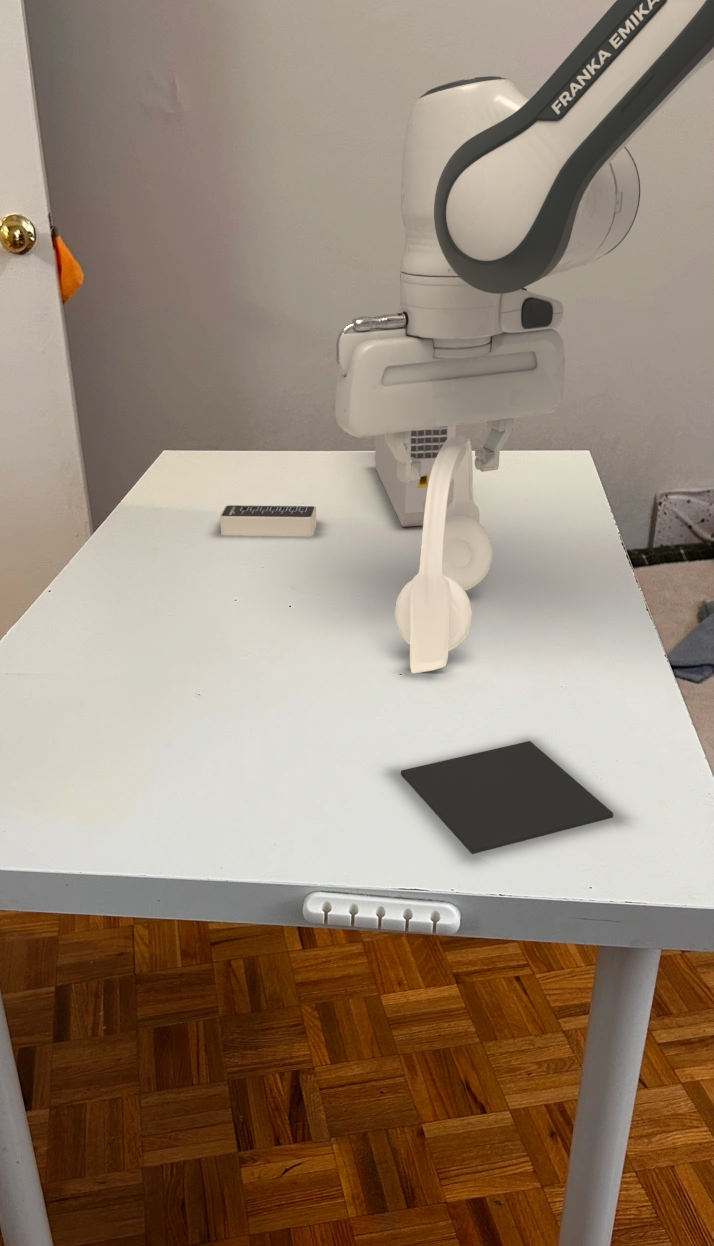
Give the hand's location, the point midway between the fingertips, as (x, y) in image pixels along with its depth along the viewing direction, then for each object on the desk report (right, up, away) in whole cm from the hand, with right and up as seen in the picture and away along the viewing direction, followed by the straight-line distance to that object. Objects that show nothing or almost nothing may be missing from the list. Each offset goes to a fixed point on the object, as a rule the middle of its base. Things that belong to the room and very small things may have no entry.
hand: (447, 474), depth 97 cm
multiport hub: (-17, +1, +35) cm, 39 cm away
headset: (0, -13, +7) cm, 15 cm away
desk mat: (+2, -27, -18) cm, 32 cm away
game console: (+1, +7, +44) cm, 45 cm away
